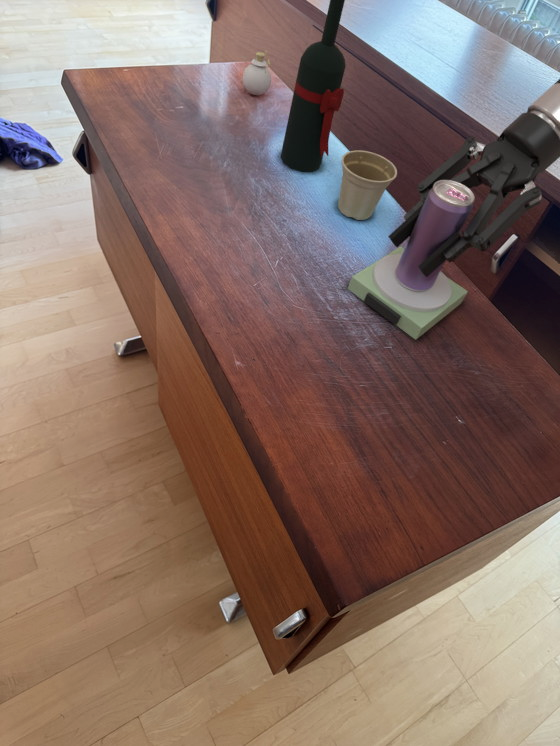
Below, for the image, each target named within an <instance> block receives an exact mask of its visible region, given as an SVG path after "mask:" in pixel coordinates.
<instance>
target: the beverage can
mask: <svg viewBox="0 0 560 746" xmlns="http://www.w3.org/2000/svg"><path fill="white" fill-rule="evenodd" d="M475 200H476V197H475V194H474V192H473V191H472V190H471V188H470V189H469V188H467V187H466V186H464V185H463V184H460V183H458V182H455V181H451V179H450V180H440V181H437V182H436V183H435V184H434V185H433V187H432V188H431V190H430V191H429V193H428V195H427V198H426V200H425V202H424V205H423V207H422V209H421V212H420V214H419V216H418V219H417V221H416V223H415V226H414V228H413V230H412V233H411V235H410V236H409V237H408V239H407V242H406V244H405V246H404V248H405V249H404V251H403V254H402V256H401V258H400V261H399V263H398V265H397V268H396V277H397V280H398V281H399V283H400V284H401V285H402V286H404V287H405V288H407V289H409V290H412V291H417V292H422V291H426V290H428V289H430V288H431V287H432V286H433V285H434V283H435V281H436V279H437V277H438V275H439V273H440V271H441V272H442V269H443V267H444V265H445V263H446V261H445V262H443V263H442V264H441V265H440V266H439V267H438V268H437V269H436V270H434V271H433V272H432V273H431V274H430V275H429V276H428V277H426V276H425V275H424V274H423V273H422V271H421V270H420V268H419V267H418V266H419V265H420V264H421V263H422V262H423V261H425V260H426V259H427V258H428V257H429V256H430V255H431V254H432V253H433V252H435V251H436V250H437V249H438V248H439V247H440V246H441V245H442V244H443V243H445V242H446V241H447V240H448V239H449V238H450V237H451V236H452V235H454V234H455V233H456V232H457V233H458V234H459V235H460V234H461V232H462V231H463V227H464V226H465V223H466V222H467V220H468V218H469V216H470V214H471V212H472V210H473V208H474V202H475Z"/></svg>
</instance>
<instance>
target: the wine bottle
mask: <svg viewBox="0 0 560 746" xmlns="http://www.w3.org/2000/svg"><path fill="white" fill-rule="evenodd" d="M345 2H346V0H329V4H328V9H327V13H326V18H325V22H324V27H323V31H322V36H321V40H320V41H316V42H313V43H312V44H310V45H309V46H307V48H306V49H305V50H304V52H303V53H302V55H301V57H300V61H299V65H298V71H297V75H296V80H295V84H294V89H293V93H292V99H291V104H290V108H289V113H288V119H287V124H286V127H285V134H284V138H283V143H282V148H281V153H280V156H279V157H280V160H281V161H282V164H283V165H285V166H286V167H288V168H290V169H291V170H294V171H297V172H300V173H314V172H316V171H319V170H320V168H321V166H322V163H323V158H324V154H325V155H326V156H327V157H329V140H330V135H331V129H332V124H333V119H334V115H335V112H338V111H339V110H340V108H341V106H342V102H343V98H344V94H345V89H344V88H342V82H343V78H344V75H345V70H346V67H347V65H346V59H345V56H344V53H342V51H341V50H340V49H339V47H338V46H337V45H336V39H337V35H338V31H339V27H340V23H341V18H342V13H343V10H344V6H345Z"/></svg>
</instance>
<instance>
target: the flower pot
mask: <svg viewBox="0 0 560 746" xmlns="http://www.w3.org/2000/svg"><path fill="white" fill-rule="evenodd" d="M340 163H341V168H342V169H341V172H342V175H341V176H342V177H341V184H340V190H339V197H338V202H337V209H338V211H339V212H340V213H341V214H342V215H344V216H345V217H347V218H352V219H354V220H357V221H365V220H368V219H370V218H371V217H372V215H373V214H374V211H375V210H376V208H377V206H378V204H379V202H380V201H381V198H382V196H383V195H384V194H385V191H386V189H387V187H389V186H390V185H391V183H392V181H394V180H395V179H396V177H398V169H397V167H396V166H395V164H394V163H393V162H392V161H390V160H389V159H388V158H386V157H384V156H383V155H380V154H378V153H376V152H371V151H368V150H363V149H359V150H358V149H357V150H351V151H348V152H346V153H344V154H343V155H342V157H341V162H340Z"/></svg>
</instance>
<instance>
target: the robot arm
mask: <svg viewBox="0 0 560 746" xmlns="http://www.w3.org/2000/svg"><path fill="white" fill-rule="evenodd" d="M479 156H480V158H479V160H478V161H476V160H477V158H478V157H479ZM558 159H560V78H559V79H558V80H557V81H555V83H553V84H552V85H551V86H550V87H549V88H548V89H546V90H545V91H544V92H543V93H542V94H541V95H540V96H539V97H538V98H537V99H536V100H535V101H533V103H531V104H530V105H529V106H528V107H527V110H526V111H525V112H522V113H520V115H518V116H517V117H516V118H515V119H514V120H513V121H512V122H511V123H510V124H509V125H507V127H506V128H504V130H502V132H501V133H500V135H499V136H498V137H497V138H496V139H495V140H492V141H490V142H488V143H487V144H486V143H485V144H484V143H482V142H478V141H477V140H476V138H475V136H468V137H467V138H466V139H465V140H464V142H463V144H462V145H461V147H460V148H459V149H458V150H457V151H456V152H455V153H453V155H451V156H450V157H449V158H448V159H446V160H445V161H444V162H443V163H442V164H441V165H439V167H438V168H436V169H434V171H432V172H431V173H430V174H429V175H428V176H427V177H426V178H424V179H423V180H422V181H421V182H420V183H418V185H417V186H416V188H417V192H418V194H419V196H420V199H419V201H418V202H417V203H416V204H415V205H413V206H412V207H411V208H410V209H409V210H408V211H407V212H406V213H405V215H404V216H403V218H404V221H403V222H402V223H401V224H400V225H399V226H397V227H396V229H394V230H393V231H392V232H391V233H390V234H389V235H388V238H389V240H390V241H391V243H392V244H393V245H394V247H396V248H399V247H400V246H402V244H403V243H404V242H405V241H406V240H408V239H409V237H410V235H411V233H412V230H413V228H414V226H415V223H416V221H417V219H418V216H419V214H420V212H421V209H422V207H423V205H424V202H425V200H426V198H427V195H428V193H429V191H430V190H431V188H432V187H433V185H434V184H435V183H436V182H437V181H440V180H451V181H455V182H458V183H460V184H463V185H464V186H466V187H467V188H469V189H470V190H471V188H473V187H474V188H477V187H479V186H481V185H484V186H486V187H489V192H488V194H487V196H486V197H485V199H484V200H483V202H482V203H481V205H480V207H479V208H478V210H477V211H476V213H475V214H474V215H473V218H471V220H470V222H469V223H468V225H467V226H466V228H465V229H464V231H463V230H461V232H460V234H461V235H460V234H458V233H457V232H456V233H455V234H454V235H452V236H451V237H450V238H449V239H448V240H447V241H446V242H445V243H443V244H442V245H441V246H440V247H439V248H438V249H437V250H436V251H435V252H433V253H432V254H431V255H430V256H429V257H428V258H427V259H426V260H425V261H423V262H422V263H421V264H420V265H419V266H418V267H419V268H420V270H421V271H422V273H423V274H424V275H425V276H426V277H428V276H429V275H430V274H431V273H432V272H433V271H434V270H436V269H437V268H438V267H439V266H440V265H441V264H442V263H443V262H445V263H446V261H447V262H448V263H452V262H454V261H456V260H457V258H459V257H460V256H461V255H462V254H463V253H465V251H466V250H468V249H469V248H474V249H477V250H479V251H480V252H481V253H482V252H487V250H489V248H491V247H492V246H493V245H494V244H495V243H496V242H497V241H498V240H499V239H500V238H501V237H502V236H503V235H504V234H505V233H506V232H507V231H508V230H509V229H510V228H511V227H512V226H513V225H514V224H515V223H516V222H517V221H518V220H519V219H520V218H521V217H522V216H523V215H524V214H526V212H528V211H529V210H531V209H533V208H535V207H537V206H539V205H540V204H541V203H543V195H542V190H541V188H540V186H537V185H536V184H535V182H536V179H537V178H538V176H539V175H541V174H542V173H544V172H545V171H546V170H547V169H548V168H549V167H550V166H552V165H553V164H554V163H555V162H556V161H557V160H558ZM472 161H476V162H475V163H473V164H471V165H469V164H470V163H471V162H472ZM468 165H469V166H468ZM467 166H468V167H467ZM466 167H467V169H466V170H465V171H462V170H464V169H465V168H466ZM460 172H461V173H460ZM516 191H521V192H520V194H519V195H518V196H517V197H516V198H515V199H514V200H512V201H511V202H510V204H509V205H508V206H507V207H506V208H505V209H504V210H503V211H502V212H500V213H499V215H498V216H497V217H495V218H494V219H493V221H491V220H492V218H493V217H494V215H495V213H496V212H497V211H498V209H499V208H500V206H501V205H503V204H504V202H505V201H506V199H507V198H508V196H509V195H510V193H513V192H516ZM490 222H491V223H490ZM488 224H489V225H488Z"/></svg>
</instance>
